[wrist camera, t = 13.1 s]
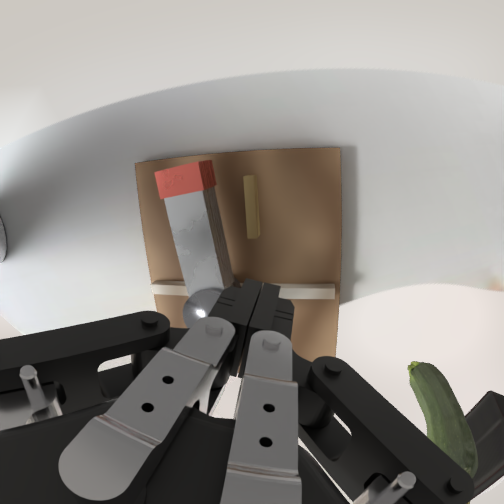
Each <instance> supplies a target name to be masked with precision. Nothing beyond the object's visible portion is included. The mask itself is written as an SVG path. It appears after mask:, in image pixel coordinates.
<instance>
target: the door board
mask: <svg viewBox="0 0 504 504" xmlns="http://www.w3.org/2000/svg"><path fill="white" fill-rule="evenodd" d="M205 160H212V164H213V169H214V174H215V179H216V183H217V185H216V186H215V191H216V196H217V201H218V206H219V210H220V215H221V220H222V225H223V229H224V234H225V239H226V243H227V248H228V253H229V257H230V262H231V266H232V271H233V276H234V280H235V281H236V282H238V283H239V284H240V285H241V287H242V285H243V283H244V281H245V279H246V278H248V279H252V280H257V281H261V282H263V284H264V282H265V283H270V284H274V285H278V286H281V288H280V292H279V298H284V299H288V300H291V302H292V303H293V305H294V307H295V310H294V318H293V326H292V334H291V343H292V349H293V350H294V352H295V353H296V354H298V355H299V356H300V357H302V358H304V359H306V360H308V361H311V362H313V361H314V360H315V359H316V358H318V357H321V356H332V357H335V355H336V343H337V330H338V314H339V298H340V275H341V232H342V203H341V160H340V148H295V149H271V150H253V151H239V152H226V153H215V154H204V155H194V156H185V157H177V158H169V159H161V160H153V161H146V162H139V163H135V170H136V180H137V189H138V198H139V206H140V214H141V221H142V228H143V235H144V242H145V248H146V254H147V260H148V266H149V272H150V277H151V283H152V284H151V288H152V293H153V294H154V298H155V303H156V308H157V312H159V313H161V314H163V315H165V316H166V317H167V318H168V319H169V321H170V327H174V328H187V326H186V325H185V322H184V320H183V307H184V304H185V302H186V301H187V300H188V298H189V296H188V292H187V289H186V285H185V281H184V278H183V274H182V270H181V266H180V263H179V259H178V255H177V251H176V247H175V243H174V239H173V235H172V231H171V227H170V222H169V218H168V214H167V210H166V205H165V201H164V199H160V196H159V191H158V187H157V182H156V177H155V172H157V171H161V170H165V169H169V168H173V167H177V166H181V165H185V164H189V163H193V162H197V161H205ZM263 284H262V287H263ZM261 290H262V289H261ZM240 365H241V364H240ZM239 370H240V367H239ZM239 370H238V373H239Z"/></svg>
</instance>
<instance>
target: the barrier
mask: <svg viewBox="0 0 504 504" xmlns="http://www.w3.org/2000/svg"><path fill="white" fill-rule="evenodd" d="M465 419H466V422H467V424H468V426H469V428H470V430H471V433H472V436H473V439H474V442H475V446H476V450H477V456H478V467H477V471H476V473H475V475H474V477H473V478H472V480H473V482H474V486H475V491H474V495H473V497H472V499H473V498H475V497H476V496H477V495H479V494H480V493H482V492H483V491H484V490H486V489H487V488H488V487H490V486H491V485H492V484H494V483H495V482H496V481H497V480H499V479H500V478H501V477H502V476H504V396H503V395H501V394H498V393H496V392H493V391H488V392H487V393H486V394H485V395H484V396H483V397H482V398H481V399H480V401H479V402H478V403H477V404H476V405H475V406H474V407H473V408H472V409H471V410H470V411H469V412H468V413H467V414H466V415H465ZM472 499H471V500H472Z"/></svg>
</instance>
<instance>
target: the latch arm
mask: <svg viewBox="0 0 504 504" xmlns="http://www.w3.org/2000/svg"><path fill="white" fill-rule="evenodd" d="M155 177H156V182H157V187H158V191H159V196H160V199H164V201H165V205H166V210H167V214H168V218H169V222H170V227H171V231H172V235H173V239H174V243H175V247H176V251H177V255H178V259H179V263H180V266H181V270H182V274H183V278H184V281H185V285H186V289H187V292H188V296H189V298H188V300H187V301H186V302H185V304H184V307H183V320H184V322H185V325H186V326H187V328H191V327H192V326H193V324H194V323H195V322H196V321H197V320H198V319H200V318H203V317H207V316H208V315H209V313H210V311H211V310H212V308H213V306H214V305H215V303H216V301H217V300H218V298H219V296H220V294H221V293H222V291H223V290H224V289H226V288H228V287H230V286H233V287H237V288H241V285H240V284H239V283H238V282H236V281H235V280H234V276H233V271H232V266H231V262H230V257H229V253H228V248H227V243H226V239H225V234H224V229H223V225H222V220H221V215H220V210H219V206H218V201H217V196H216V191H215V186H216V185H217V183H216V179H215V174H214V169H213V164H212V160H205V161H197V162H193V163H189V164H185V165H181V166H177V167H173V168H169V169H165V170H161V171H157V172H155Z"/></svg>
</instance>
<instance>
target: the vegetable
mask: <svg viewBox="0 0 504 504" xmlns="http://www.w3.org/2000/svg"><path fill="white" fill-rule="evenodd" d="M408 370H409V375H410V385H411V387H412V389H413V391H414V393H415V395H416V398H417V401H418V403H419V405H420V407H421V409H422V412H423V413H424V416H425V420H426V424H427V437H428V438H429V439H430V440H431V441H432V442H433V443H435V444H436V445H437V446H438V447H439V448H440V449H441V450H442V451H444V452H445V453H446V454H447V455H448V456H449V457H450V458H451V459H452V460H454V461H455V462H456V463H457V464H458V465H459V466H460V467H461V468H463V469H464V470H465V471H466V472H467V473H468V474H469V475H470V476H471V478H473V477H474V475H475V473H476V471H477V467H478V456H477V450H476V446H475V442H474V439H473V436H472V433H471V430H470V428H469V426H468V424H467V422H466V419H465V416H464V414H463V411H462V409H461V407H460V405H459V403H458V401H457V399H456V397H455V395H454V393H453V391H452V389H451V387H450V385H449V383H448V381H447V380H446V378H445V377H444V375H443V374H442V373H441V372H440V371H439V370H438V369H437V368H436V367H435V366H434V365H432V364H430V363H424V362H421V363H420V362H415V361H413V362H411V365H408ZM467 504H470V501H469V502H468V503H467Z"/></svg>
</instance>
